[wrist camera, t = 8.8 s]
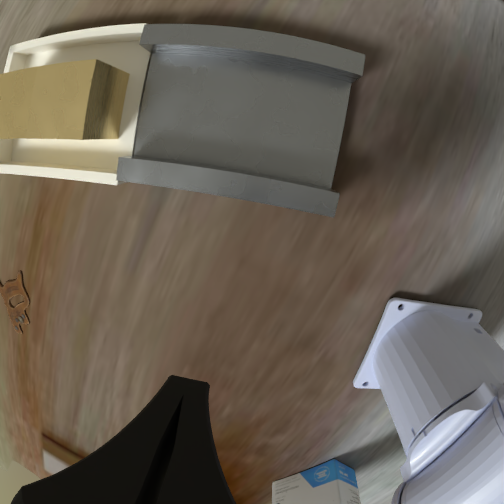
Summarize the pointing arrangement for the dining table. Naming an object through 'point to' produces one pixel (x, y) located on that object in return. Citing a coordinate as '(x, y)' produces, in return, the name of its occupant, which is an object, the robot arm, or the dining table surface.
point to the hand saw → (18, 312)
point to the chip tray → (81, 151)
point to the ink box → (318, 486)
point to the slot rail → (242, 115)
